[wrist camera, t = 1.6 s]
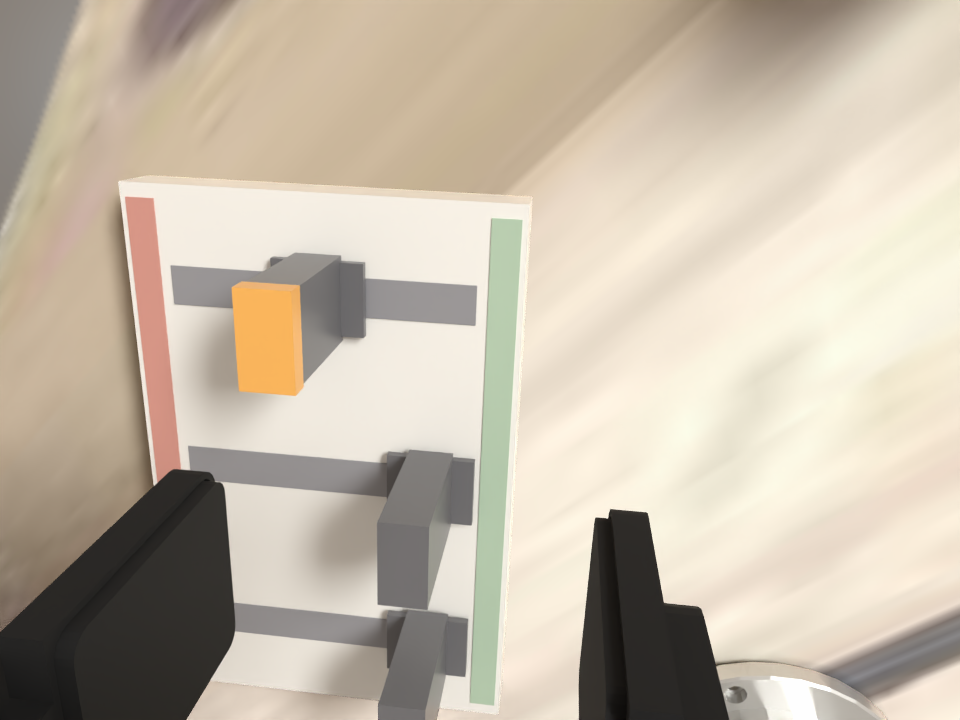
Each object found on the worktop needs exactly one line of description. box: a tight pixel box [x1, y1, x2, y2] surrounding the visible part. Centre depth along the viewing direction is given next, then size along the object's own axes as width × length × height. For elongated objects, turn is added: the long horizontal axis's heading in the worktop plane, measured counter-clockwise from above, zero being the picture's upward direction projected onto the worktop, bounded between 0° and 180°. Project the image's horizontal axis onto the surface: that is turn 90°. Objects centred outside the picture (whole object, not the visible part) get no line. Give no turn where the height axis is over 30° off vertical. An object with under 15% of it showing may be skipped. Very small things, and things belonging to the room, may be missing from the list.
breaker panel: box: [118, 175, 533, 715], centre depth 30 cm, size 14×21×2 cm, turn 178°
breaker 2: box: [378, 610, 468, 720], centre depth 29 cm, size 3×3×5 cm
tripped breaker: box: [232, 253, 366, 396], centre depth 24 cm, size 3×3×5 cm
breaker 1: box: [377, 450, 475, 610], centre depth 26 cm, size 3×3×5 cm
